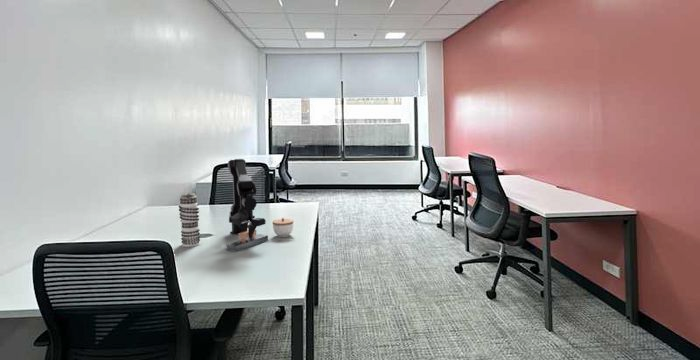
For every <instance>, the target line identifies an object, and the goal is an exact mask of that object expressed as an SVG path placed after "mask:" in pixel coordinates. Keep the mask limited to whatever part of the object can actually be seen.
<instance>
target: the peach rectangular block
mask: <svg viewBox="0 0 700 360" xmlns="http://www.w3.org/2000/svg"><path fill="white" fill-rule="evenodd" d="M237 235H238V239H239V240H241V242H246V238H248V237H249V231H248V229H247V231H244V232H241V233H238V234H237ZM255 235H257V229H255V231H254V233H253V236H252V238H250V239H254V236H255Z"/></svg>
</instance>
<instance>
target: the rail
mask: <svg viewBox="0 0 700 360" xmlns="http://www.w3.org/2000/svg"><path fill="white" fill-rule="evenodd" d="M267 241H269V235H267V234H262V233H256V235H255V236H254V239H250V238H249V237H248V238H246V242H241V239H239V240H236V241H233V242H231V243H227V244H226V245H225V246H226V250H227V251H231V252H239V251H242V250H246V249H248V248H251V247H253V246H256V245H258V244H261V243H264V242H267Z"/></svg>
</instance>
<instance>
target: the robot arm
mask: <svg viewBox="0 0 700 360" xmlns="http://www.w3.org/2000/svg"><path fill="white" fill-rule="evenodd" d="M227 169H228V170H229V173H230V174H231V176H232V193H233V194H232V195H233V199H232V200H233V203H232V205H231V207H230V211H229V215H228V223H231V230H232V231H230V232H229V233H231V234H236V235H238V233H241V232H244V231H247V230H248V231H249V238H252V236H253V233H254V231H255V230H257V227H261V226H264V225H266V222H267V220H266V219H265V218H264V217H256V216H255V215H254V210H256V209H255V208H256V206H257V200H256V199H255V198H254V196H255V195H257V187H256V183H255V182H254V181H253V179H252V177H250V176H249V175H248V172H247V166H246V160H245V159H244V158H235V159H230V160H228V162H227Z"/></svg>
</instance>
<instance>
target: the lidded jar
mask: <svg viewBox="0 0 700 360" xmlns="http://www.w3.org/2000/svg"><path fill="white" fill-rule="evenodd" d="M272 229H273V232H274V234H275V235H277V237H278V238H286V237H289V236H290V235H291V234H292V233H293V231H294V220H293V219H290V218H284V217H281V219H275V220H273V221H272Z"/></svg>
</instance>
